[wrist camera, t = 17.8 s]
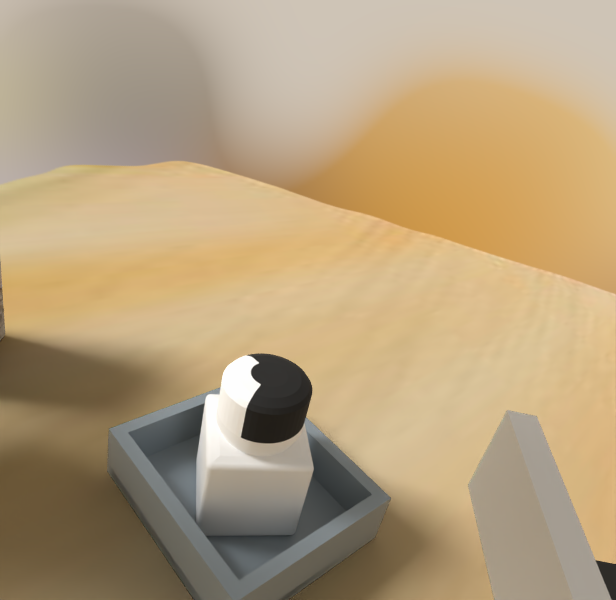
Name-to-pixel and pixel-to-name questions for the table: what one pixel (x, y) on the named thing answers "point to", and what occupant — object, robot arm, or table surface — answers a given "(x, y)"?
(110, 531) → the table surface
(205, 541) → the tote
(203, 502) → the medicine bottle
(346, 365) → the table surface
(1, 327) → the coffee box
